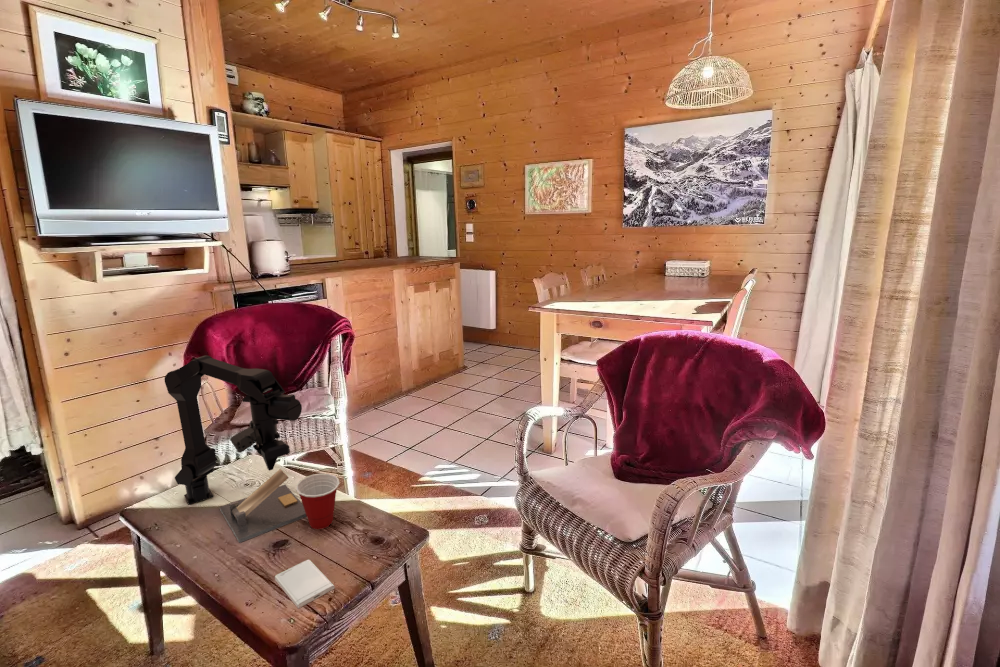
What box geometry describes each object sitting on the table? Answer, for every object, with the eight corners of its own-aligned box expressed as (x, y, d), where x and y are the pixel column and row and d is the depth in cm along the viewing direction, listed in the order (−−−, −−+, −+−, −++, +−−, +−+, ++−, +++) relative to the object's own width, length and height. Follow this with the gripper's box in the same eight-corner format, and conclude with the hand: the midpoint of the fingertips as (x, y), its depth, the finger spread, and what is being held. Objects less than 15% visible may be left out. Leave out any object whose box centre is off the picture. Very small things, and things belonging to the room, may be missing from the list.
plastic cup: (316, 541, 127) (312, 498, 124) (292, 526, 133) (287, 485, 131) (351, 520, 136) (347, 479, 133) (326, 507, 142) (322, 468, 139)
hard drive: (274, 575, 113) (297, 604, 105) (309, 558, 119) (334, 584, 110) (275, 581, 114) (298, 610, 105) (310, 564, 119) (335, 590, 111)
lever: (234, 515, 137) (230, 511, 136) (283, 471, 144) (279, 467, 143) (239, 523, 133) (235, 519, 133) (289, 478, 140) (285, 474, 140)
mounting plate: (219, 509, 142) (217, 496, 141) (285, 487, 153) (283, 474, 152) (239, 543, 127) (236, 528, 126) (310, 515, 138) (308, 501, 137)
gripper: (222, 415, 137) (229, 467, 141) (240, 436, 124) (248, 493, 127) (265, 405, 144) (271, 454, 148) (287, 423, 131) (293, 478, 134)
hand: (270, 469), depth 139 cm, fingers closed
